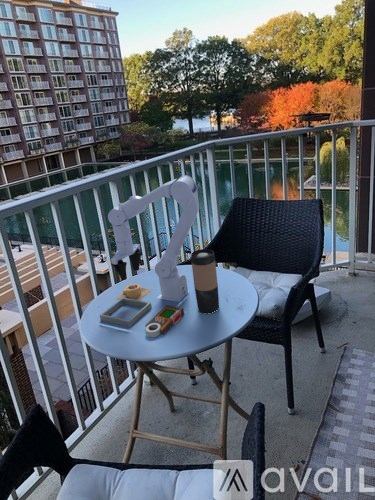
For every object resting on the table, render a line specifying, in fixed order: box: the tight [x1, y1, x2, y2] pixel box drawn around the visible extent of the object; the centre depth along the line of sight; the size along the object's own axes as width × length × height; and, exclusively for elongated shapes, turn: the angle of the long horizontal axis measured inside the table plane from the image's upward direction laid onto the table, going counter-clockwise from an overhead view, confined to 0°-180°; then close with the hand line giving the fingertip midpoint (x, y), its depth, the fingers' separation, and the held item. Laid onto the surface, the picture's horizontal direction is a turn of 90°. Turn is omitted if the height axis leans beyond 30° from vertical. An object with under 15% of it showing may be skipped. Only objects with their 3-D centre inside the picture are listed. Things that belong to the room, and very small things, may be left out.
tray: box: [99, 298, 153, 328], centre depth 125 cm, size 12×12×2 cm
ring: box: [122, 282, 142, 298], centre depth 138 cm, size 7×6×3 cm
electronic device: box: [145, 304, 185, 338], centre depth 117 cm, size 7×3×15 cm
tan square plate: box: [115, 284, 153, 301], centre depth 137 cm, size 10×10×4 cm
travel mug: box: [190, 248, 220, 315], centre depth 120 cm, size 8×8×20 cm
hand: (130, 274), depth 135 cm, fingers open, 7 cm apart
